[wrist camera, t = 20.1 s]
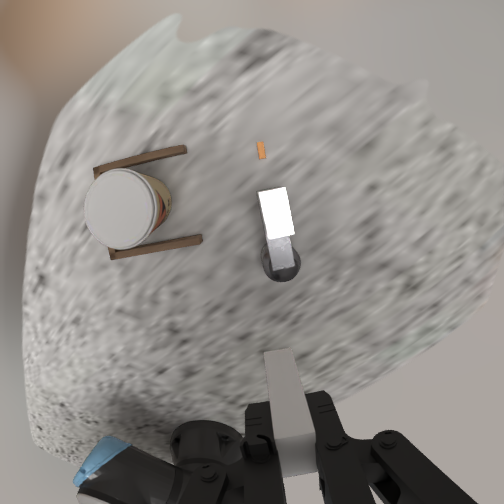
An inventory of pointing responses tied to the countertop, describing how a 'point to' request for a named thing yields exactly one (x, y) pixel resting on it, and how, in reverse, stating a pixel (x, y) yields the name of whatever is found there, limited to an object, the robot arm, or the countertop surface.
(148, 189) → the coffee cup
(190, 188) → the countertop surface
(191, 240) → the brown u-shaped wooden bracket
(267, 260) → the pedestal
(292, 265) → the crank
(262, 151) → the orange small block
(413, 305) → the countertop surface
